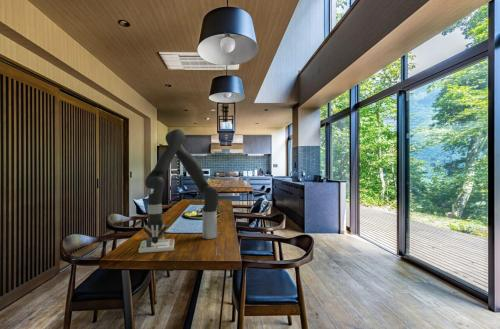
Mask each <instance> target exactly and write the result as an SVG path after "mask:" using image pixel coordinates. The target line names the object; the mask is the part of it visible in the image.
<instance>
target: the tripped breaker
mask: <svg viewBox="0 0 500 329" xmlns="http://www.w3.org/2000/svg"><path fill="white" fill-rule="evenodd" d="M145 241H146V247H151V244H152V238H149V237H147V238H146V240H145Z"/></svg>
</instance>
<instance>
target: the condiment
mask: <svg viewBox="0 0 500 329" xmlns="http://www.w3.org/2000/svg"><path fill="white" fill-rule="evenodd" d="M162 222H163V224H164V219H163V218H162ZM164 225H165V224H164ZM162 227H163V226H162ZM162 227H161V228H160V229H159V231H158V233H160V231H161V230H162ZM164 232H165V231H164ZM164 232H163V233H162V234H161V235H160V236H158V240H163V239H166V237H165V236H164ZM155 236H156V230H155Z"/></svg>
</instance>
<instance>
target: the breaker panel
mask: <svg viewBox="0 0 500 329" xmlns="http://www.w3.org/2000/svg"><path fill="white" fill-rule="evenodd" d="M174 249H175V238H167V239H166V238H164V239H158V242H157V244H154V243H153V242H152V244H151V247H146V240H142V242H141V244H140V246H139V248H138V253H139V254H140V253H142V254H143V253H155V252H157V253H158V252H169V251H174Z"/></svg>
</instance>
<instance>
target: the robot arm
mask: <svg viewBox="0 0 500 329" xmlns="http://www.w3.org/2000/svg"><path fill="white" fill-rule="evenodd" d="M164 140H165V141H166V144H167V147H166V148H165V150H164V151H163V153H162V154H161V155H160V156H159V158H158V160H157V162H156V164H155V166H154V167H153V169H152V170H151V171H150V173H149V174H148V175H147V176H146V178H145V181H144V184H145V187H146V188H147V189H150V190H152V193H149V194H148V196H147V199H148V200H147V202H148V204H147V223H146V225H145V226H144V227H142V230H143V231H144V233H146V235H147V236H148V237H149V236H152V238H153V243H154V244H157V242H158V240H159V239H158V236H160V235H161V234H162V233H163V232H165V230H166V229H167V227H168V225H167V224H166V225H165V224H163V223H164V221H163V222H162V219H163V206H162V205H163V204H162V203H163V202H162V196H163V192H164V188H165V180H164V178H163V177H162V176H165V175H166V174H167V172H168V169H169V168H170V165H171V163H172V162H173V160H174V157H175V156H176V157H177V158H178V160H179V162H180V163H181V164H182V166H183V168H184V170H185V171H186V172H187V174H188V176H189V177H190V178H191V180H192V181H193V182H194V184H195V185H196V188H197V189H198V192H199V193H200V195H201V197H202V198H203V199H204V204H203V206H202V233H201V234H202V236H201V237H202V239H205V240H206V239H207V240H210V239H212V240H213V239H217V238H218V222H217V221H218V220H217V219H218V218H217V217H218V216H217V215H218V213H217V212H218V211H217V210H218V206H219V191H218V189H217V188H216V187H215V186H211V185H210V184H209V182H208V181H207V179H206V178H205V175H204V171H203V168H202V166H201V163H199V161H198V160H197V158H196V157H195V156H193V155H192V154H191V153H189V152H188V150H186V149H185V148H184V146H183V143H184V142H185V140H186V135H185V133H184V131H183V130H181V129H178V128H175V129H173V130H171V131H169V132H168V133H166V135H165V139H164ZM162 226H163V227H162ZM161 227H162V230H161V231H160V233H158V231H159V229H160V228H161ZM155 230H156V236H155Z"/></svg>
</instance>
